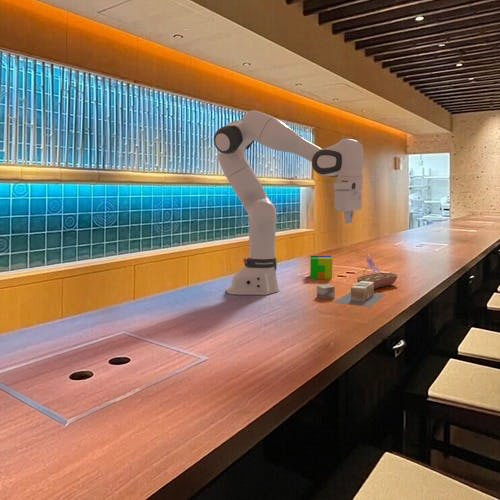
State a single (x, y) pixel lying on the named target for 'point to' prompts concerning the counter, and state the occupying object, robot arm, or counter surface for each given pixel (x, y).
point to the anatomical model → (379, 279)
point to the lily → (371, 264)
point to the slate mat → (367, 302)
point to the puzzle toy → (321, 267)
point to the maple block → (362, 291)
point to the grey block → (325, 291)
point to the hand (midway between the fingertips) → (348, 223)
